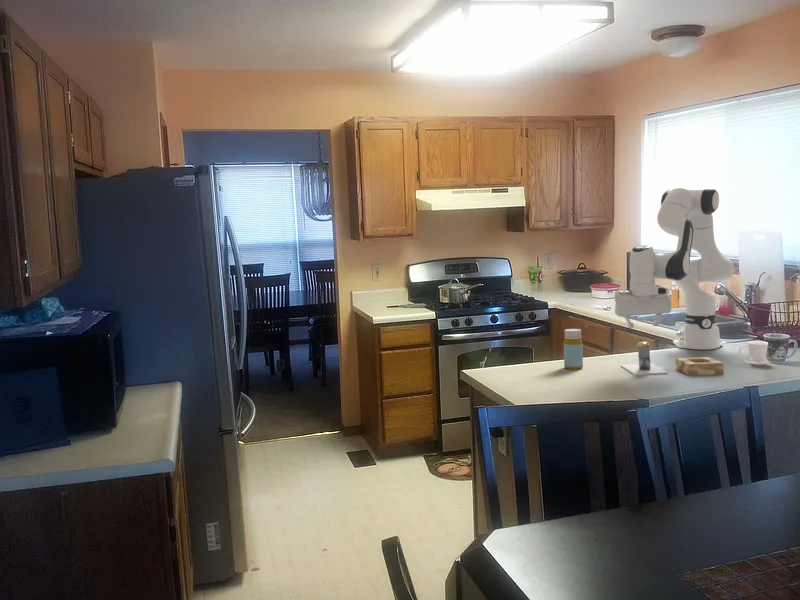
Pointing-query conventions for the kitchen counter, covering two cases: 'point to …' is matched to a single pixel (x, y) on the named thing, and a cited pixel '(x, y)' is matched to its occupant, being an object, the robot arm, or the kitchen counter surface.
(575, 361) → the bottle
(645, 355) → the peg
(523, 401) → the kitchen counter surface
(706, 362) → the block
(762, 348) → the cup
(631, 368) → the mat
